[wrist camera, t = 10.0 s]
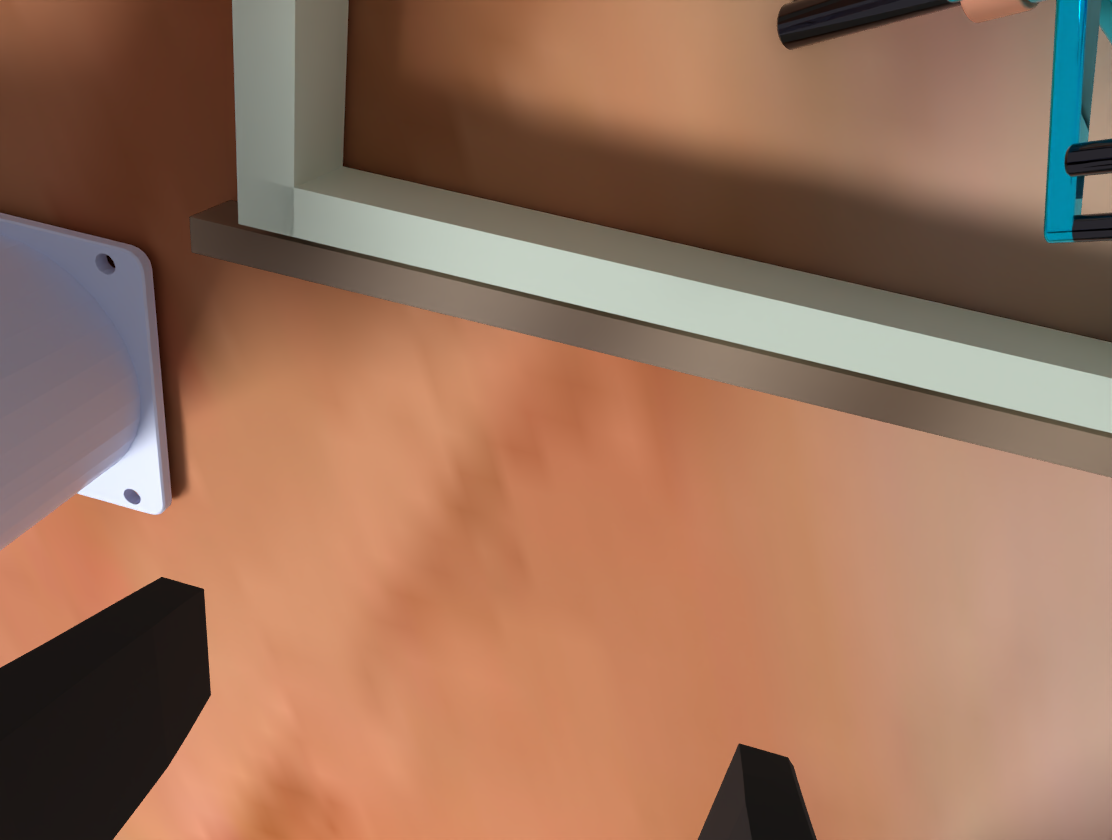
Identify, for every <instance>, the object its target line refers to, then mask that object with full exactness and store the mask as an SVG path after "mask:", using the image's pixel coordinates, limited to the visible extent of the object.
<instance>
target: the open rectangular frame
mask: <svg viewBox="0 0 1112 840" xmlns="http://www.w3.org/2000/svg"><path fill="white" fill-rule="evenodd" d="M348 7H349V0H232V18H233V53H234V88H235V122H236V157H237V192H238V224H241V225H245V226H250V227H254V228H258V229H262V230H266V231H270V232H275V233H279V234H283V235H287V236H291V237H296V238H300V239H304V240H308V241H312V242H316V243H321V244H325V245H329V246H333V247H337V248H341V249H346V250H350V251H354V252H358V253H362V254H366V255H371V256H375V257H379V258H383V259H387V260H391V261H396V262H400V263H404V264H408V265H412V266H416V267H421V268H425V269H429V270H433V271H437V272H441V273H446V274H450V275H454V276H458V277H462V278H466V279H471V280H475V281H479V282H483V283H487V284H492V285H496V286H500V287H504V288H508V289H512V290H517V291H521V292H525V293H529V294H533V295H537V296H542V297H546V298H550V299H554V300H558V301H562V302H567V303H571V304H575V305H579V306H583V307H587V308H592V309H596V310H600V311H604V312H608V313H612V314H617V315H621V316H625V317H629V318H633V319H637V320H642V321H646V322H650V323H654V324H658V325H663V326H667V327H671V328H675V329H679V330H683V331H688V332H692V333H696V334H700V335H704V336H708V337H713V338H717V339H721V340H725V341H729V342H733V343H738V344H742V345H746V346H750V347H754V348H758V349H763V350H767V351H771V352H775V353H779V354H783V355H788V356H792V357H796V358H800V359H804V360H808V361H813V362H817V363H821V364H825V365H829V366H834V367H838V368H842V369H846V370H850V371H854V372H859V373H863V374H867V375H871V376H875V377H879V378H884V379H888V380H892V381H896V382H900V383H904V384H909V385H913V386H917V387H921V388H925V389H929V390H934V391H938V392H942V393H946V394H950V395H954V396H959V397H963V398H967V399H971V400H975V401H979V402H984V403H988V404H992V405H996V406H1000V407H1004V408H1009V409H1013V410H1017V411H1021V412H1025V413H1030V414H1034V415H1038V416H1042V417H1046V418H1050V419H1055V420H1059V421H1063V422H1067V423H1071V424H1075V425H1080V426H1084V427H1088V428H1092V429H1096V430H1100V431H1105V432H1109V433H1112V342H1107V341H1103V340H1099V339H1094V338H1090V337H1085V336H1081V335H1077V334H1072V333H1068V332H1064V331H1059V330H1055V329H1051V328H1046V327H1042V326H1037V325H1033V324H1029V323H1024V322H1020V321H1016V320H1011V319H1007V318H1003V317H998V316H994V315H989V314H985V313H981V312H976V311H972V310H968V309H963V308H959V307H955V306H950V305H946V304H941V303H937V302H933V301H928V300H924V299H920V298H915V297H911V296H907V295H902V294H898V293H893V292H889V291H885V290H880V289H876V288H872V287H867V286H863V285H859V284H854V283H850V282H845V281H841V280H837V279H832V278H828V277H824V276H819V275H815V274H811V273H806V272H802V271H797V270H793V269H789V268H784V267H780V266H776V265H771V264H767V263H763V262H758V261H754V260H749V259H745V258H741V257H736V256H732V255H728V254H723V253H719V252H715V251H710V250H706V249H701V248H697V247H693V246H688V245H684V244H680V243H675V242H671V241H667V240H662V239H658V238H654V237H649V236H645V235H640V234H636V233H632V232H627V231H623V230H619V229H614V228H610V227H606V226H601V225H597V224H592V223H588V222H584V221H579V220H575V219H571V218H566V217H562V216H558V215H553V214H549V213H544V212H540V211H536V210H531V209H527V208H523V207H518V206H514V205H510V204H505V203H501V202H496V201H492V200H488V199H483V198H479V197H475V196H470V195H466V194H462V193H457V192H453V191H448V190H444V189H440V188H435V187H431V186H427V185H422V184H418V183H414V182H409V181H405V180H400V179H396V178H392V177H387V176H383V175H379V174H374V173H370V172H366V171H361V170H357V169H352V168H348V167H344V166H343V146H344V118H345V91H346V63H347V35H348Z"/></svg>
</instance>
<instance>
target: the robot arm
mask: <svg viewBox="0 0 1112 840" xmlns="http://www.w3.org/2000/svg"><path fill="white" fill-rule="evenodd" d="M107 255H108V256H110V258H111V259H112V260H113V261H114V264H115V268H113V267H112V266H111V265H110V264H109V263H108V260H107V257H106V256H107ZM135 491H136V492H137V493H138V494H139V495H138V494H137V493H136V492H135ZM76 493H77V494H81V495H84V496H88V497H92V498H95V499H99V500H102V501H106V502H109V503H113V504H117V505H120V506H124V507H127V508H131V509H134V510H138V511H141V512H145V513H149V514H154V515H158V514H161V513H162V512H164V511H165V510H166V509H167V508H168V507H169V506H170V505H171V501H172V494H171V483H170V471H169V459H168V448H167V436H166V424H165V413H164V401H163V389H162V377H161V366H160V354H159V342H158V331H157V319H156V307H155V296H154V284H153V272H152V266H151V263H150V260H149V259H148V257H147V256H146V254H145V253H144V252H143V251H142V250H140V249H139V248H137V247H135V246H133V245H130V244H126V243H122V242H118V241H114V240H110V239H106V238H101V237H97V236H93V235H89V234H85V233H81V232H77V231H73V230H69V229H65V228H61V227H57V226H53V225H49V224H45V223H40V222H36V221H32V220H28V219H24V218H20V217H16V216H12V215H8V214H4V213H0V551H1V550H2V549H3V548H5V547H6V546H7V545H9V544H10V543H11V542H13V541H14V540H15V539H16V538H18V537H19V536H20V535H22V534H23V533H24V532H26V531H27V530H28V529H30V528H31V527H32V526H34V525H35V524H36V523H38V522H39V521H40V520H42V519H43V518H44V517H46V516H47V515H48V514H50V513H51V512H52V511H54V510H55V509H56V508H58V507H59V506H60V505H62V504H63V503H64V502H66V501H67V500H68V499H70V498H71V497H72V496H74V495H75V494H76ZM210 695H211V691H210V675H209V660H208V645H207V630H206V614H205V599H204V589H202V588H198V587H195V586H191V585H188V584H185V583H181V582H178V581H174V580H171V579H167V578H164V577H161V578H159V579H157V580H156V581H154V582H152V583H150V584H148V585H147V586H145V587H143V588H141V589H139V590H138V591H136V592H134V593H132V594H131V595H129V596H127V597H125V598H123V599H122V600H120V601H118V602H116V603H115V604H113V605H111V606H109V607H108V608H106V609H104V610H102V611H101V612H99V613H97V614H95V615H94V616H92V617H90V618H88V619H87V620H85V621H83V622H81V623H80V624H78V625H76V626H74V627H73V628H71V629H69V630H67V631H66V632H64V633H62V634H60V635H59V636H57V637H55V638H53V639H51V640H50V641H48V642H46V643H44V644H43V645H41V646H39V647H37V648H35V649H34V650H32V651H30V652H28V653H26V654H24V655H23V656H21V657H19V658H17V659H15V660H14V661H12V662H10V663H8V664H6V665H5V666H3V667H1V668H0V840H113V839H114V837H115V836H116V835H117V833H118V832H119V831H120V830H121V828H122V827H123V826H124V824H125V823H126V822H127V820H128V819H129V818H130V816H131V815H132V814H133V812H134V811H135V810H136V809H137V807H138V806H139V805H140V803H141V802H142V801H143V799H144V798H145V797H146V795H147V794H148V793H149V791H150V790H151V789H152V787H153V786H154V785H155V783H156V782H157V781H158V779H159V778H160V777H161V775H162V774H163V773H164V771H165V770H166V769H167V767H168V766H169V764H170V763H171V761H172V759H173V758H174V756H175V754H176V753H177V751H178V750H179V748H180V746H181V745H182V743H183V742H184V740H185V738H186V737H187V735H188V733H189V732H190V730H191V728H192V726H193V725H194V723H195V721H196V720H197V718H198V716H199V714H200V713H201V711H202V709H203V708H204V706H205V704H206V702H207V701H208V699H209V697H210ZM698 840H817V839H816V836H815V833H814V830H813V827H812V824H811V821H810V818H809V815H808V812H807V809H806V806H805V802H804V799H803V796H802V793H801V790H800V786H799V783H798V780H797V777H796V773H795V770H794V766H793V765H792V763H791V762H790V760H789V758H788V757H784V756H781V755H777V754H774V753H770V752H767V751H764V750H760V749H757V748H753V747H750V746H746V745H743V744H739V745H738V747H737V749H736V752H735V754H734V756H733V759H732V761H731V763H730V766H729V768H728V770H727V773H726V775H725V777H724V780H723V782H722V784H721V787H720V789H719V791H718V794H717V796H716V798H715V801H714V803H713V805H712V808H711V810H710V812H709V815H708V817H707V819H706V822H705V824H704V826H703V829H702V831H701V833H700V836H699V838H698Z"/></svg>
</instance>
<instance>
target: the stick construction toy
mask: <svg viewBox="0 0 1112 840" xmlns="http://www.w3.org/2000/svg"><path fill="white" fill-rule="evenodd" d="M1042 1H1046V0H797V1H794V2H791V3H787V4H785V5H784V6H783V7H782V8H781V10H780V12H779V14H778V18H777V31H778V36H779V38H780V41H781V42H782V44H783V45H784V46H785V47H786V48H787V49H789V50H793V49H797V48H801V47H805V46H808V45H812V44H816V43H820V42H824V41H827V40H831V39H835V38H839V37H843V36H846V35H850V34H854V33H858V32H862V31H865V30H869V29H873V28H877V27H881V26H884V25H888V24H892V23H896V22H899V21H903V20H907V19H911V18H915V17H918V16H922V15H926V14H930V13H934V12H937V11H941V10H945V9H949V8H953V7H956V6H960V5H961V6H962V8H963V10H964V12H965V14H966V16H967V17H968V18H969V19H970V20H971V21H973V22H975V23H980V22H984V21H988V20H992V19H996V18H1000V17H1004V16H1008V15H1013V14H1017V13H1021V12H1025V11H1029V10H1032V9H1033V8H1035V7H1036V6H1037V4H1038V3H1039V2H1042ZM1099 26H1100V27H1101V29H1102V31H1103V32H1104V34H1105V35H1106V37H1107V38H1108V40H1109V41H1110V43H1111V45H1112V0H1056V14H1055V33H1054V51H1053V70H1052V88H1051V107H1050V125H1049V144H1048V162H1047V180H1046V199H1045V217H1044V238H1045V240H1046V241H1047V242H1048V243H1070V242H1092V241H1112V213H1098V214H1083V215H1081V208H1082V198H1083V187H1084V177H1085V176H1088V175H1098V174H1108V173H1112V139H1105V140H1097V141H1090V142H1088V135H1089V125H1090V115H1091V104H1092V94H1093V84H1094V73H1095V63H1096V53H1097V42H1098V32H1099Z"/></svg>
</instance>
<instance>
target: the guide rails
mask: <svg viewBox="0 0 1112 840" xmlns="http://www.w3.org/2000/svg"><path fill="white" fill-rule="evenodd" d="M190 234H191V251H192V253H196V254H201V255H205V256H209V257H213V258H217V259H221V260H225V261H229V262H233V263H237V264H241V265H245V266H250V267H254V268H258V269H262V270H266V271H270V272H274V273H278V274H282V275H286V276H290V277H294V278H299V279H303V280H307V281H311V282H315V283H319V284H323V285H327V286H331V287H335V288H339V289H343V290H348V291H352V292H356V293H360V294H364V295H368V296H372V297H376V298H380V299H384V300H388V301H392V302H397V303H401V304H405V305H409V306H413V307H417V308H421V309H425V310H429V311H433V312H437V313H441V314H445V315H450V316H454V317H458V318H462V319H466V320H470V321H474V322H478V323H482V324H486V325H490V326H494V327H499V328H503V329H507V330H511V331H515V332H519V333H523V334H527V335H531V336H535V337H539V338H543V339H548V340H552V341H556V342H560V343H564V344H568V345H572V346H576V347H580V348H584V349H588V350H592V351H597V352H601V353H605V354H609V355H613V356H617V357H621V358H625V359H629V360H633V361H637V362H641V363H646V364H650V365H654V366H658V367H662V368H666V369H670V370H674V371H678V372H682V373H686V374H690V375H695V376H699V377H703V378H707V379H711V380H715V381H719V382H723V383H727V384H731V385H735V386H739V387H744V388H748V389H752V390H756V391H760V392H764V393H768V394H772V395H776V396H780V397H784V398H788V399H792V400H797V401H801V402H805V403H809V404H813V405H817V406H821V407H825V408H829V409H833V410H837V411H841V412H846V413H850V414H854V415H858V416H862V417H866V418H870V419H874V420H878V421H882V422H886V423H890V424H895V425H899V426H903V427H907V428H911V429H915V430H919V431H923V432H927V433H931V434H935V435H939V436H944V437H948V438H952V439H956V440H960V441H964V442H968V443H972V444H976V445H980V446H984V447H988V448H993V449H997V450H1001V451H1005V452H1009V453H1013V454H1017V455H1021V456H1025V457H1029V458H1033V459H1037V460H1042V461H1046V462H1050V463H1054V464H1058V465H1062V466H1066V467H1070V468H1074V469H1078V470H1082V471H1086V472H1090V473H1095V474H1099V475H1103V476H1107V477H1111V478H1112V433H1109V432H1105V431H1100V430H1096V429H1092V428H1088V427H1084V426H1080V425H1075V424H1071V423H1067V422H1063V421H1059V420H1055V419H1050V418H1046V417H1042V416H1038V415H1034V414H1030V413H1025V412H1021V411H1017V410H1013V409H1009V408H1004V407H1000V406H996V405H992V404H988V403H984V402H979V401H975V400H971V399H967V398H963V397H959V396H954V395H950V394H946V393H942V392H938V391H934V390H929V389H925V388H921V387H917V386H913V385H909V384H904V383H900V382H896V381H892V380H888V379H884V378H879V377H875V376H871V375H867V374H863V373H859V372H854V371H850V370H846V369H842V368H838V367H834V366H829V365H825V364H821V363H817V362H813V361H808V360H804V359H800V358H796V357H792V356H788V355H783V354H779V353H775V352H771V351H767V350H763V349H758V348H754V347H750V346H746V345H742V344H738V343H733V342H729V341H725V340H721V339H717V338H713V337H708V336H704V335H700V334H696V333H692V332H688V331H683V330H679V329H675V328H671V327H667V326H663V325H658V324H654V323H650V322H646V321H642V320H637V319H633V318H629V317H625V316H621V315H617V314H612V313H608V312H604V311H600V310H596V309H592V308H587V307H583V306H579V305H575V304H571V303H567V302H562V301H558V300H554V299H550V298H546V297H542V296H537V295H533V294H529V293H525V292H521V291H517V290H512V289H508V288H504V287H500V286H496V285H492V284H487V283H483V282H479V281H475V280H471V279H466V278H462V277H458V276H454V275H450V274H446V273H441V272H437V271H433V270H429V269H425V268H421V267H416V266H412V265H408V264H404V263H400V262H396V261H391V260H387V259H383V258H379V257H375V256H371V255H366V254H362V253H358V252H354V251H350V250H346V249H341V248H337V247H333V246H329V245H325V244H321V243H316V242H312V241H308V240H304V239H300V238H296V237H291V236H287V235H283V234H279V233H275V232H270V231H266V230H262V229H258V228H254V227H250V226H245V225H241V224H238V202H237V201H233V200H229V201H227V202H225V203H222V204H220V205H217V206H215V207H212V208H210V209H207V210H205V211H202V212H200V213H198V214H195V215H193V216H190Z"/></svg>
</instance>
